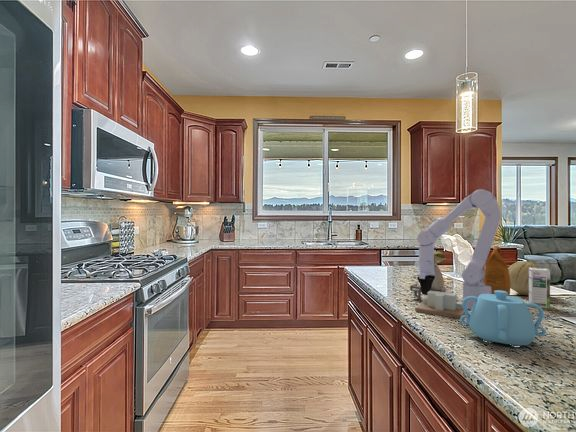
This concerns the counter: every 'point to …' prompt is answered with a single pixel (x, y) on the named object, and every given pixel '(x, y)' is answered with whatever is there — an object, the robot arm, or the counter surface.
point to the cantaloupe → (521, 276)
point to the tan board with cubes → (441, 304)
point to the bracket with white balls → (418, 289)
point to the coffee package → (497, 273)
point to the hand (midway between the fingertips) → (426, 293)
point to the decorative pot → (502, 319)
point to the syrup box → (539, 287)
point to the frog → (438, 272)
